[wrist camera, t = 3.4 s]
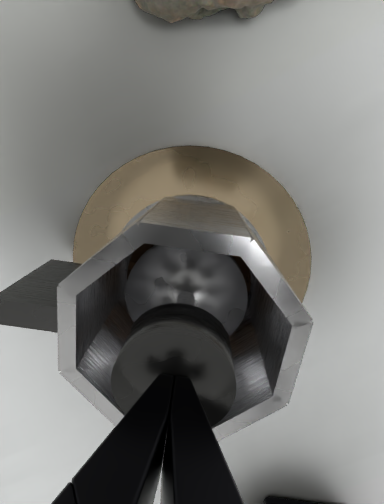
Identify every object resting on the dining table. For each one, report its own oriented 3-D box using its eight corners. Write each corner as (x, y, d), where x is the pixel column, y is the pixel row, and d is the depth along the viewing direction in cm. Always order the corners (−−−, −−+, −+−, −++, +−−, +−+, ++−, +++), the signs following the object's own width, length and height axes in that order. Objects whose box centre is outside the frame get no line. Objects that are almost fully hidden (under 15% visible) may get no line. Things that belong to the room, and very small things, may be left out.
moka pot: (339, 165, 14) (461, 170, 7) (279, 379, 18) (322, 508, 11) (73, 128, 14) (-47, 100, 7) (73, 350, 18) (-4, 461, 11)
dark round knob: (256, 246, 12) (297, 314, 7) (234, 351, 14) (252, 472, 9) (132, 229, 12) (74, 283, 7) (124, 336, 14) (74, 446, 9)
